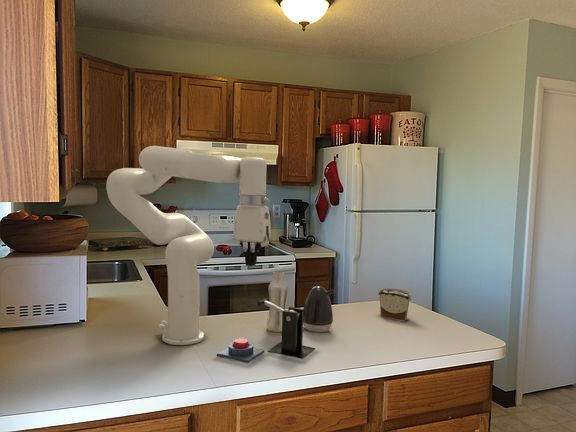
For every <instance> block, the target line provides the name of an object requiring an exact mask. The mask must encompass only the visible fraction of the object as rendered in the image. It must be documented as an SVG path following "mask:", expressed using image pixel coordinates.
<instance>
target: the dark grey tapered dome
mask: <svg viewBox="0 0 576 432" xmlns="http://www.w3.org/2000/svg"><path fill="white" fill-rule="evenodd" d="M334 293H336V290H335V289H330V290H327V289H325V287H323V286H322V285H316V286H313V287H312V288H311V289H310V290H309V292H308V295H307V296H306V299H305V302H304V304H303V309H304V313H303V328H305V330H307V331H308V332H312V333H327V332H329V330H330V329H331V327H332V324H333V322H334V314H333V313H334V311H333V305H332V302H331V298H330V296H329V295H332V294H334Z"/></svg>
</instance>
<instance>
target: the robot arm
mask: <svg viewBox="0 0 576 432" xmlns="http://www.w3.org/2000/svg"><path fill="white" fill-rule="evenodd" d="M138 162H139V165H140V167H141V168H140V167H137V168H136V167H123V168H118V169H115V170H113V171H112V172H111V173H110V174H109V175H108V177H107V179H106V185H105V186H106V188H105V189H106V193H107V197H108V199H109V201H110V203H111V204H112V206H113V207H114V208H115V209H116V210H117V211H118V212H119V213H120V214H121V215H122V216H124V217H125V218H126V219H127V221H130V223H131V224H133V225H134V227H136V228H137V229H138V231H140V232H141V233H142V234H143V235H144V236H145V237H146V238H147V239H148V240H149V241H150V242H152V243H153V244H155V245H157V246H162V245H167V246H166V247H165V252H164V257H165V264H166V270H167V271H166V272H167V320H161V322H160V324H159V325H158V329H160V330H164V333H163V334H162V337H161V338H162V342H164V343H166V344H168V345H171V346H189V345H190V346H191V345H194V344H198V343H200V342H202V341H204V339H205V333H204V332H203V331H202V330H200V318H201V317H200V312H201V311H200V310H201V308H200V307H201V305H200V304H201V279H200V275H199V271H198V265H200V264H203V263H206V262H208V261H210V260H211V259H212V257H213V255H214V254H215V244H214V242H213V240H212V239H211V237H210V236H209V235H208V234H207V233H206V232H205V231H203V229H201V228H200V227H199V226H198V225H197V224H196V223H195V222H193V221H192V219H190V218H189V217H188V216H186V215H184V214H182V213H180V212H167V213H166V212H163V211H162V210H160V209H159V208H157V207H156V206H155V205H154V204H153V203H152V201H151V202H150V201H149V200H148V199H147V198H144V197H142V196H141V195H143V196H144V195H150V194H152V193H154V192H156V191H157V190H158V189H159V188H161V187H162V186H163V185H164V184H165V183H166V182H167V181H169V180H170V179H171V178H173V177H175V178H181V179H187V180H188V179H190V180H195V181H201V182H209V183H219V184H222V183H226V184H227V183H229V184H231V183H233V184H234V183H239V186H238V187H239V191H238V205H237V206H236V209H235V215H234V221H233V237H234V240H233V241H234V244H236V245H240V247H242V249H243V252H244V253H245V254H244V261H245V266H247V267H253V266H256V264H257V261H258V252H259V251H260V249H261V248H263V247H268V246H269V245H270V243H269V240H271V237H272V236H271V235H272V229H271V228H272V227H271V226H272V225H271V224H272V223H271V215H270V208H269V206H266V205H267V204H269V203H270V201H271V199H270V198H268V197H267V195H266V194H267V165H268V163H267V160H266V159H265V158H262V157H250V156H249V157H237V156H230V155H220V154H219V155H218V154H210V153H209V154H208V153H202V152H201V153H200V152H194V151H192V150H190V149H186V148H176V147H169V146H159V145H150V146H147V147H145V148H143V149H142V150H141V151H140V153H139V155H138Z"/></svg>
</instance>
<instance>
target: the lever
mask: <svg viewBox="0 0 576 432" xmlns="http://www.w3.org/2000/svg"><path fill="white" fill-rule="evenodd" d="M269 301H270V299H269V297H266V298H263V299H262V300H259V301H257V306H259V307H261V306H263V305H264V306H267V307H268V308H269V307H270V308H272V309H274V310H276V311H278V312H280V313H282V311H283V310H285V309H283V308H281V307H279V306H276V305H274V304H272V303H270V302H269ZM286 311H288V310H287V309H286ZM290 311H292V312H296V311H294V310H290ZM299 315H300V313H298V318H299Z"/></svg>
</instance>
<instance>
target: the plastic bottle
mask: <svg viewBox="0 0 576 432" xmlns="http://www.w3.org/2000/svg"><path fill="white" fill-rule="evenodd" d="M272 272H273V273H272V278H273V279H272V280H271V282H270V283H269V285H268V287H267V288H268V298H269V299H270V301H269V302H270V303H272V304H274V305H276V306H279V307H281V308H283V309H285V310H287V300H288V293H289V285H288V284H287V282H286V280H285V277H286V276H285V271H283V270H273V271H272ZM268 308H269V310H268V316H267V320H266V321H267V322H266V328H267V330H268V332H271V333H282V313H280V312H278V311H276V310H274V309H272V308H270V307H268Z"/></svg>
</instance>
